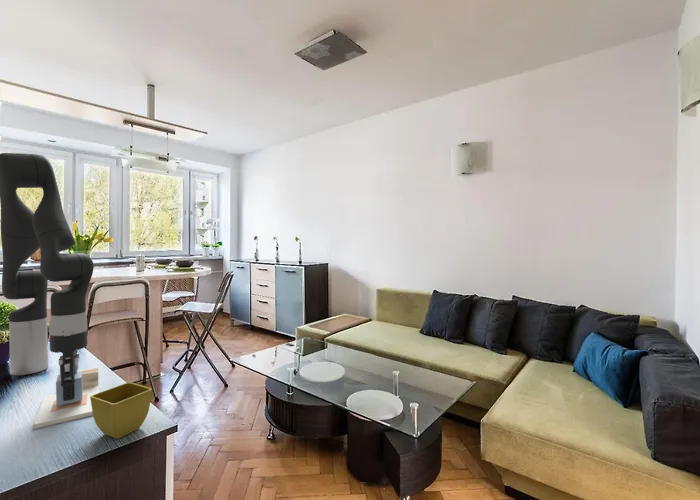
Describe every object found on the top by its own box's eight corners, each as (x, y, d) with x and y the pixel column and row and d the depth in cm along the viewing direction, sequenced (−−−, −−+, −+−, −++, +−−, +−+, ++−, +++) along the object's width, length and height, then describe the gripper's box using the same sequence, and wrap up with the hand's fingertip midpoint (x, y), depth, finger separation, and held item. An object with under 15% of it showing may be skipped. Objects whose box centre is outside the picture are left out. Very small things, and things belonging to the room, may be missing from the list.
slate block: (58, 397, 89) (57, 375, 89) (82, 392, 92) (82, 371, 92) (56, 405, 85) (56, 382, 85) (81, 400, 88) (81, 377, 88)
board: (44, 399, 93) (44, 395, 93) (99, 388, 100) (99, 385, 100) (33, 429, 78) (33, 424, 78) (98, 413, 85) (98, 409, 85)
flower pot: (153, 426, 79) (153, 388, 79) (114, 447, 71) (113, 404, 71) (129, 418, 83) (129, 381, 83) (89, 436, 75) (88, 396, 75)
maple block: (79, 387, 101) (79, 370, 101) (98, 383, 104) (98, 367, 104) (78, 392, 97) (78, 374, 97) (98, 388, 100) (98, 371, 100)
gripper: (53, 327, 92) (54, 389, 92) (45, 339, 80) (46, 411, 81) (88, 323, 96) (89, 383, 97) (86, 334, 85) (86, 402, 85)
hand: (69, 395), depth 89 cm, fingers closed on slate block, 5 cm apart
